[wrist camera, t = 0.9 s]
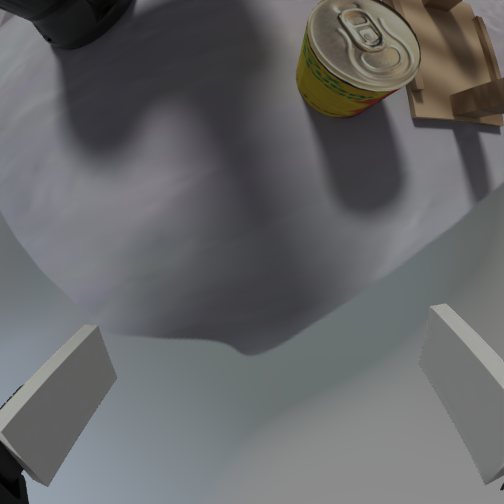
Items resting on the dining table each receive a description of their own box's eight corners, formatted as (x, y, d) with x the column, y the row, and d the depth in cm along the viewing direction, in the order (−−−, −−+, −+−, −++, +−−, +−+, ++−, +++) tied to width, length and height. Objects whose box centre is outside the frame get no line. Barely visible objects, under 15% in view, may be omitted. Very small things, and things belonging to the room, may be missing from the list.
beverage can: (325, 132, 29) (355, 111, 18) (279, 66, 28) (282, 15, 16) (389, 97, 28) (440, 69, 16) (344, 35, 26) (373, -18, 14)
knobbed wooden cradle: (377, -14, 23) (414, -74, 9) (466, 7, 22) (518, -29, 8) (411, 118, 28) (485, 96, 14) (498, 126, 26) (571, 121, 13)
